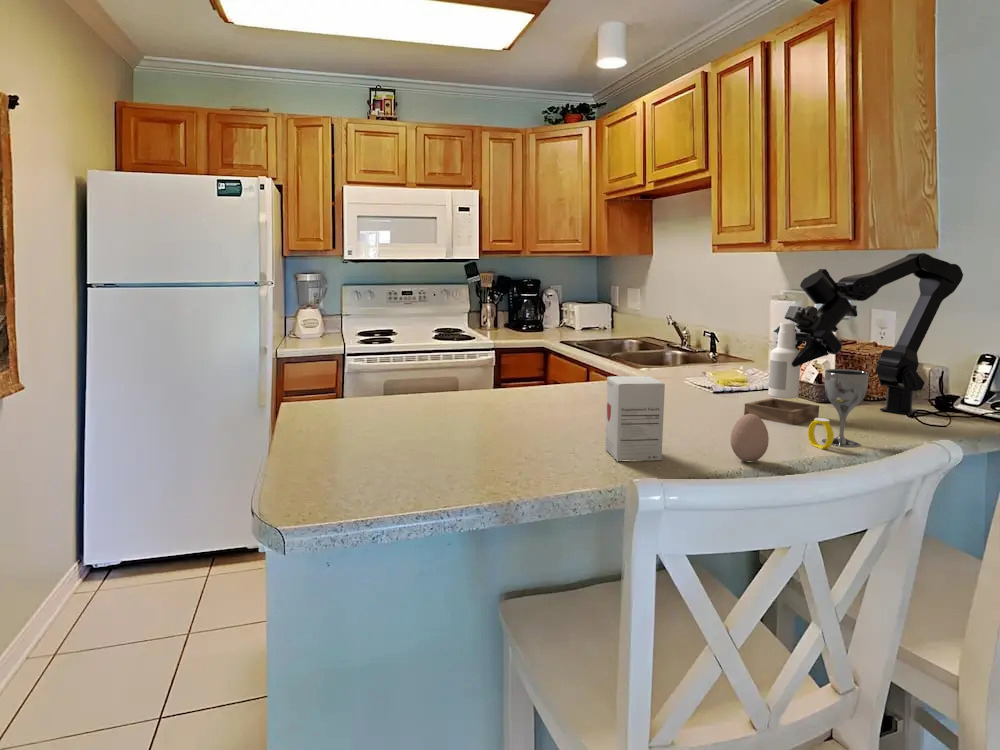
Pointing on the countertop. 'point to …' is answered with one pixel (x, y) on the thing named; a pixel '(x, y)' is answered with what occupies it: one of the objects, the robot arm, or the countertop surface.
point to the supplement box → (634, 417)
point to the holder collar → (782, 410)
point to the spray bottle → (784, 365)
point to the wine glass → (845, 397)
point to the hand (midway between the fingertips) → (783, 363)
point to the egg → (749, 438)
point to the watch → (828, 430)
